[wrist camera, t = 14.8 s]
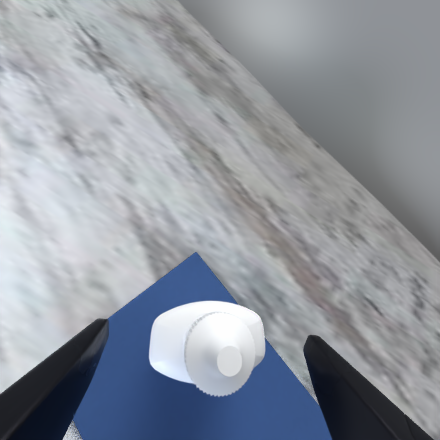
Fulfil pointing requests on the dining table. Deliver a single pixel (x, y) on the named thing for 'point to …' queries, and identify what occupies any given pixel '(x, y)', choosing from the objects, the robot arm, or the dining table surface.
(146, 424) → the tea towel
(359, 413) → the robot arm
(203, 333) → the eye dropper bottle
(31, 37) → the dining table surface
